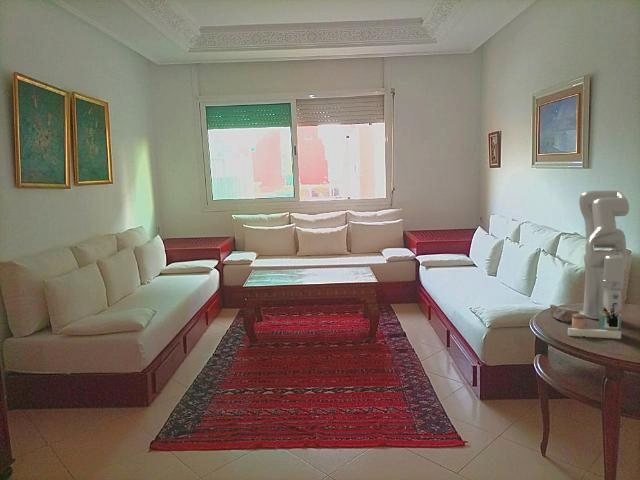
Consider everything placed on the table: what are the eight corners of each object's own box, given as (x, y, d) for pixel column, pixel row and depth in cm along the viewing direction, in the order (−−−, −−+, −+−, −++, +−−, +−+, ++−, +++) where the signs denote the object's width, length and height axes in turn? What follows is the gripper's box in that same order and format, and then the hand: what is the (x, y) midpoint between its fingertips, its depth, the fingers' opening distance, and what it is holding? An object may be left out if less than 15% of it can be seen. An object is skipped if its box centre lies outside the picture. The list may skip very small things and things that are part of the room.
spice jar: (569, 330, 216) (570, 313, 215) (583, 331, 215) (584, 313, 214) (572, 334, 211) (573, 316, 210) (585, 335, 210) (586, 317, 209)
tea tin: (598, 331, 214) (599, 310, 213) (616, 332, 212) (618, 311, 211) (601, 335, 209) (602, 314, 208) (620, 336, 207) (622, 315, 206)
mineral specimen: (546, 319, 232) (546, 306, 231) (551, 315, 237) (551, 302, 236) (575, 324, 224) (575, 311, 223) (579, 320, 229) (580, 307, 228)
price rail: (567, 334, 212) (568, 327, 211) (620, 337, 206) (620, 330, 206) (568, 335, 210) (568, 329, 210) (621, 338, 205) (621, 332, 204)
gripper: (629, 290, 198) (626, 330, 201) (616, 278, 214) (613, 316, 218) (608, 289, 200) (605, 329, 203) (597, 278, 216) (594, 315, 220)
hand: (609, 322), depth 211 cm, fingers open, 9 cm apart
